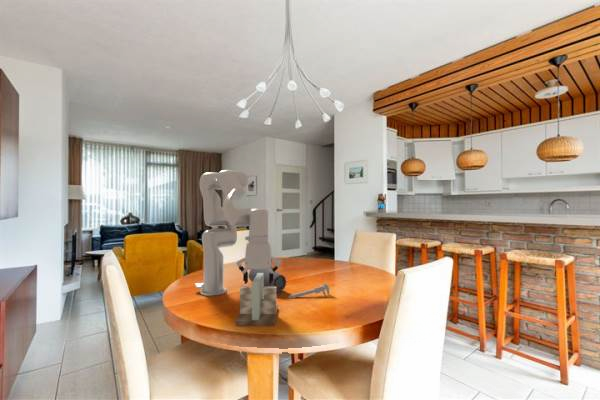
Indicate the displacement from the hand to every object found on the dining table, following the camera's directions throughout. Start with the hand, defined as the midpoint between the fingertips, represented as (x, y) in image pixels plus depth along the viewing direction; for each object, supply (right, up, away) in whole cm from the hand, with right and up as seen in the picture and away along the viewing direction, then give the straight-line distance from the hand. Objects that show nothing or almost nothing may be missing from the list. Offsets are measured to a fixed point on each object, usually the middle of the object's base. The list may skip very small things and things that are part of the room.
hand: (258, 282), depth 111 cm
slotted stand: (0, -13, 0) cm, 13 cm away
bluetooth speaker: (-1, -14, +36) cm, 38 cm away
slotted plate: (0, -12, 0) cm, 12 cm away
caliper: (+21, -14, +24) cm, 34 cm away
